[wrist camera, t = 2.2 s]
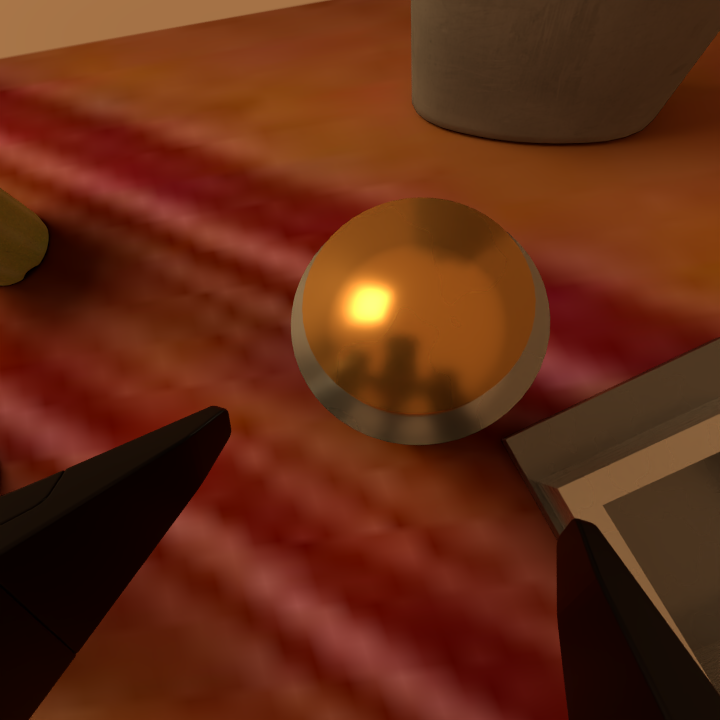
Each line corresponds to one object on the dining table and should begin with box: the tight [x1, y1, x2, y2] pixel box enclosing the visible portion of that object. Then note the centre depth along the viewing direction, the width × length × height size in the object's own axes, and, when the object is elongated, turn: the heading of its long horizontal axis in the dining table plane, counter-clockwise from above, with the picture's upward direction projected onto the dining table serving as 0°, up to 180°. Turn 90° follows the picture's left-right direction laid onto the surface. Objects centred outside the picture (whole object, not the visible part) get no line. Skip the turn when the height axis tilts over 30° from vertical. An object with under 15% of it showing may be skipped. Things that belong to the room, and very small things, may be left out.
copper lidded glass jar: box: [291, 198, 550, 445], centre depth 13 cm, size 5×5×14 cm
